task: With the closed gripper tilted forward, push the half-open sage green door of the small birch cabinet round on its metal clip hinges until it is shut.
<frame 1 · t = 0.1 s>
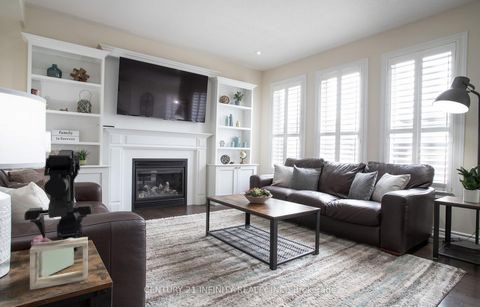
hand: (60, 236, 93), 15 cm above the table, tool pointing down, fingers open, 9 cm apart
door: (55, 256, 97), point 5 cm above the table, hinge at 45.0°
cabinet: (60, 280, 91), on the table
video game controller: (41, 249, 118), on the table
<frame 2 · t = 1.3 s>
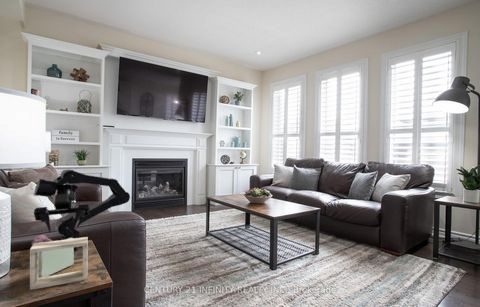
hand: (62, 230, 105), 13 cm above the table, tool tilted 45°, fingers open, 8 cm apart
nothing on the table moved.
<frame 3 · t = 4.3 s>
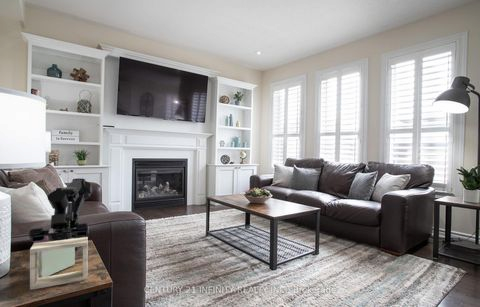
hand: (58, 253, 98), 6 cm above the table, tool tilted 45°, fingers closed
door: (56, 256, 97), point 6 cm above the table, hinge at 41.9°, touching gripper
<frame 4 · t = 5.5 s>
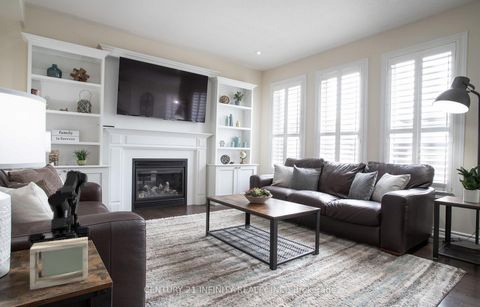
hand: (59, 258, 95), 6 cm above the table, tool tilted 45°, fingers closed on door, 2 cm apart
door: (63, 259, 95), point 6 cm above the table, hinge at 3.1°, touching gripper
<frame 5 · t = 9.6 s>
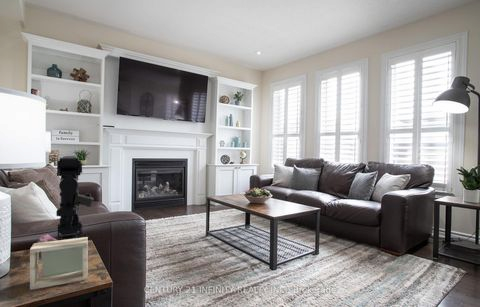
hand: (69, 228, 107), 13 cm above the table, tool pointing down, fingers closed
door: (63, 259, 95), point 6 cm above the table, hinge at 2.5°
at the end: door at +2° (first picture: +45°); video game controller moved 2.3 cm from its start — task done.
